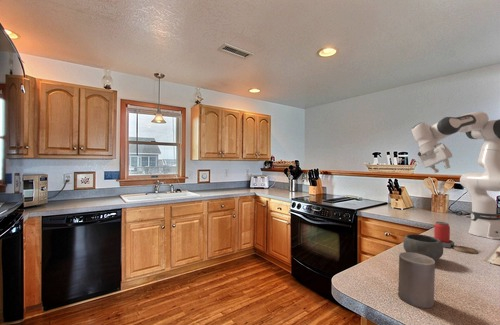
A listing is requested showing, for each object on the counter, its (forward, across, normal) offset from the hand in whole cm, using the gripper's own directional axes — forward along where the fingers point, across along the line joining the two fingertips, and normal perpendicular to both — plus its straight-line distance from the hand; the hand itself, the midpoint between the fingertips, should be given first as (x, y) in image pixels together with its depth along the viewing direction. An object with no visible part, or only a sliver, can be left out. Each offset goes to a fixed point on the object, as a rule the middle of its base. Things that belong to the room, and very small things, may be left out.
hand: (442, 170), depth 135 cm
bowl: (+37, -14, +39) cm, 56 cm away
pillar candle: (+40, -48, +63) cm, 89 cm away
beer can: (+38, +8, +15) cm, 41 cm away
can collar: (+37, +8, +15) cm, 41 cm away
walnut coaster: (+41, +1, +10) cm, 43 cm away
